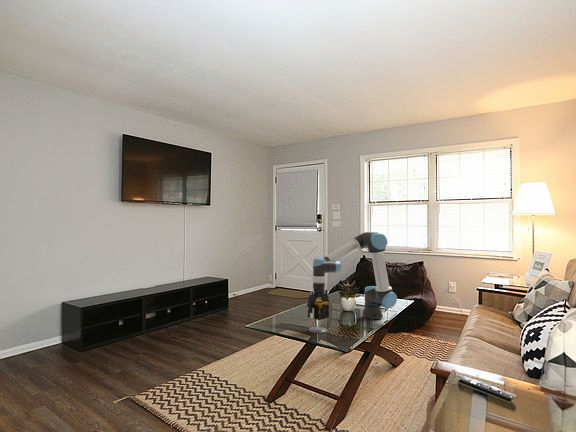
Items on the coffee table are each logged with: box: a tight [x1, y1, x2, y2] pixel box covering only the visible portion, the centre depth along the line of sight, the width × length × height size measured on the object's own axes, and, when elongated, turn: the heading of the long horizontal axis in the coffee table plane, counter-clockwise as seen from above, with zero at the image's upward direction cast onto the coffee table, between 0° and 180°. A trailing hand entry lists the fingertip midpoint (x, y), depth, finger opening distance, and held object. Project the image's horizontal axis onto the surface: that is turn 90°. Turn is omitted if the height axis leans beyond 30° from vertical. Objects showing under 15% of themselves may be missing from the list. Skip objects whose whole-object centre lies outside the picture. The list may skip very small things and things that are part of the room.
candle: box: [307, 299, 330, 321], centre depth 220 cm, size 10×10×10 cm
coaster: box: [308, 326, 329, 334], centre depth 220 cm, size 12×12×1 cm
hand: (318, 316), depth 220 cm, fingers closed on candle, 10 cm apart
